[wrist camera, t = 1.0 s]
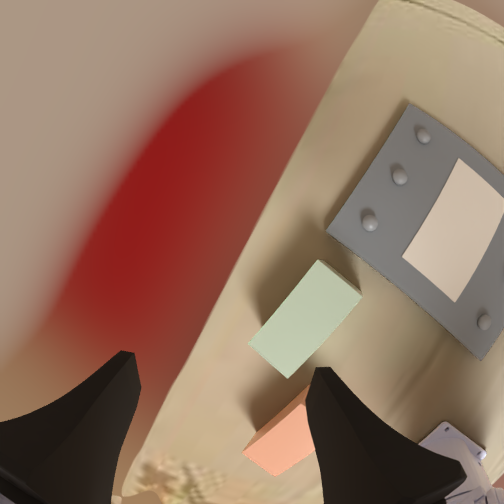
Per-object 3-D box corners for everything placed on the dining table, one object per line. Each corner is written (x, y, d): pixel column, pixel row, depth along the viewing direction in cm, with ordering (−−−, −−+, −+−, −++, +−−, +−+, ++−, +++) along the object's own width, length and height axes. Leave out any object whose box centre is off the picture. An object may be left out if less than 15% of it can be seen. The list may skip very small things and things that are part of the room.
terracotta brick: (342, 408, 21) (338, 431, 17) (286, 453, 22) (275, 476, 18) (309, 383, 22) (300, 403, 18) (257, 431, 23) (241, 452, 20)
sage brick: (361, 291, 21) (362, 296, 17) (298, 361, 22) (287, 378, 19) (323, 260, 22) (317, 259, 18) (264, 331, 24) (247, 343, 20)
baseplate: (545, 229, 14) (553, 227, 12) (476, 357, 16) (483, 363, 15) (408, 108, 19) (410, 99, 18) (326, 232, 22) (324, 230, 20)
